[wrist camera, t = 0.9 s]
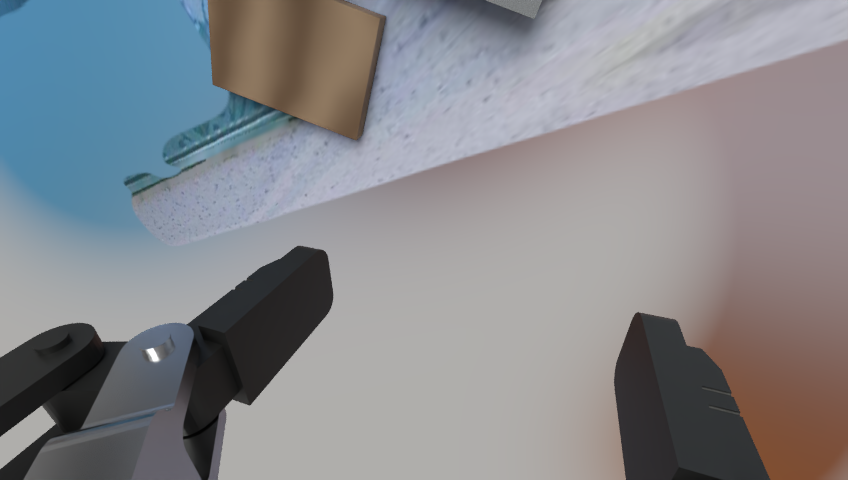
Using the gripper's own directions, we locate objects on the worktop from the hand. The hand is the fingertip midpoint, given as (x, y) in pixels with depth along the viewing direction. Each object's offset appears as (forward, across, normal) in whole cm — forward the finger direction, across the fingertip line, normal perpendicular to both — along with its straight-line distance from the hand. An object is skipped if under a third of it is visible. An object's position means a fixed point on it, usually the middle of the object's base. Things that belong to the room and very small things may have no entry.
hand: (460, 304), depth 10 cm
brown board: (+23, +20, -4) cm, 31 cm away
